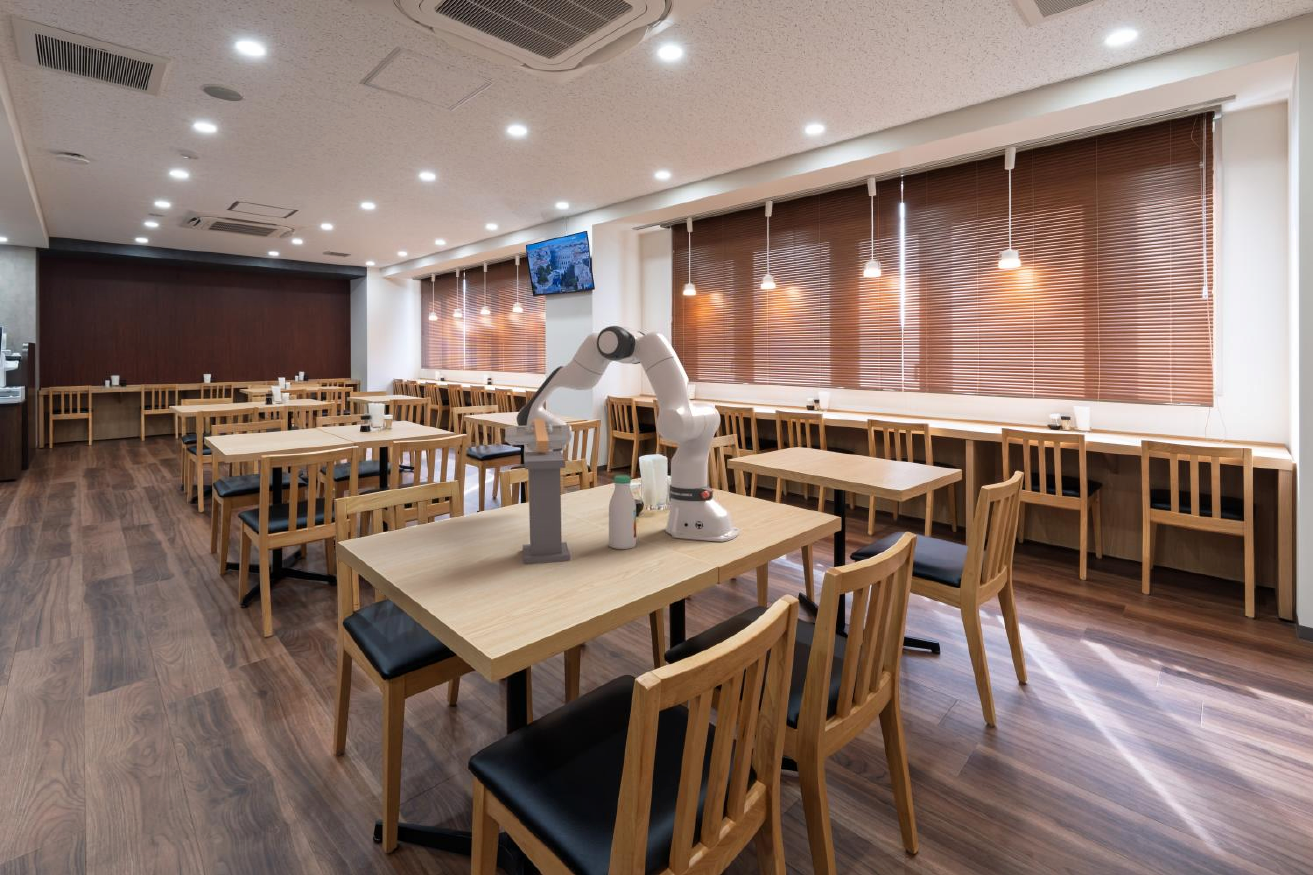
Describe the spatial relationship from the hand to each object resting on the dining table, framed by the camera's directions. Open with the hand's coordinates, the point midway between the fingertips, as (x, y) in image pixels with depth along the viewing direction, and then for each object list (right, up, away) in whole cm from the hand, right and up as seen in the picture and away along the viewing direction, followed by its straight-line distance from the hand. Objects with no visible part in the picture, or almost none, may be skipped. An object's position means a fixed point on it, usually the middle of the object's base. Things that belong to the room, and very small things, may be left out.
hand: (539, 424), depth 191 cm
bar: (+2, -5, -9) cm, 10 cm away
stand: (+5, -36, -20) cm, 41 cm away
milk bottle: (+26, -35, -11) cm, 45 cm away
